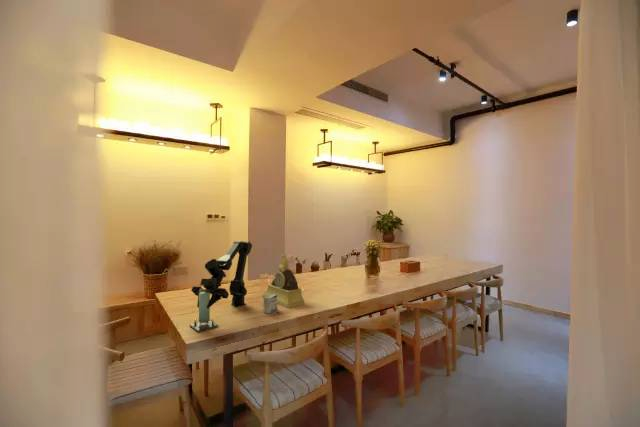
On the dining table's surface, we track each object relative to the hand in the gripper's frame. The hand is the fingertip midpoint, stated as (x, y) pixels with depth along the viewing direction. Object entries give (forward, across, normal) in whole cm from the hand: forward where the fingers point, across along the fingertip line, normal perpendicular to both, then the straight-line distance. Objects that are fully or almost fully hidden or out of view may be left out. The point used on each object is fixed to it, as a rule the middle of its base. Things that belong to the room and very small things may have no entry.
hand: (202, 307), depth 137 cm
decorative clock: (-28, +23, +43) cm, 56 cm away
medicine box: (-14, +23, +29) cm, 39 cm away
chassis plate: (+6, 0, +8) cm, 10 cm away
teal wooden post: (+4, 0, +6) cm, 7 cm away
